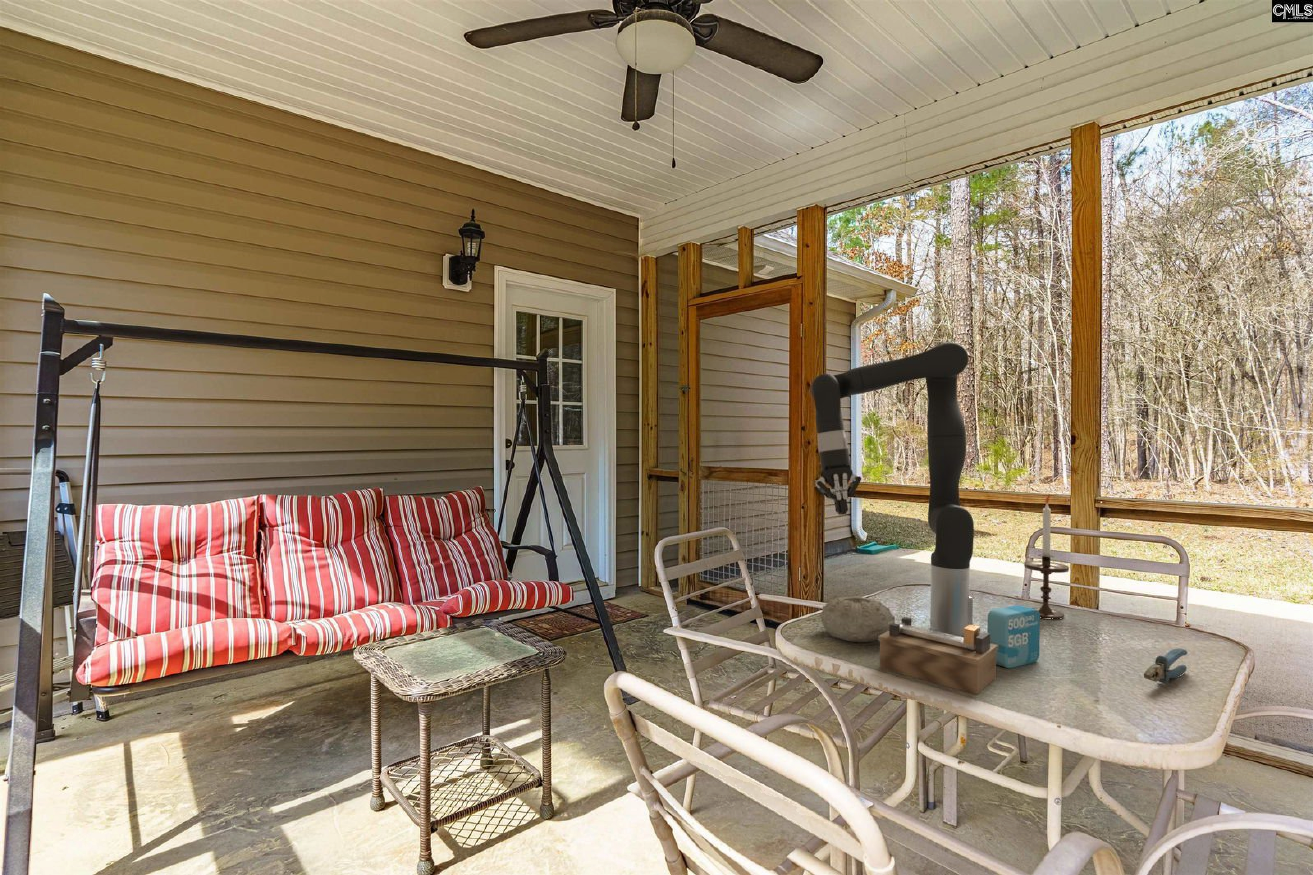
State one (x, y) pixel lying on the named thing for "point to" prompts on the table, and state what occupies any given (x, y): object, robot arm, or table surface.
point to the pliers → (1166, 667)
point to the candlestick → (1047, 567)
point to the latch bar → (945, 635)
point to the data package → (1015, 635)
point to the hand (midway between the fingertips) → (842, 514)
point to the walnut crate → (939, 659)
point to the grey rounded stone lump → (856, 618)
